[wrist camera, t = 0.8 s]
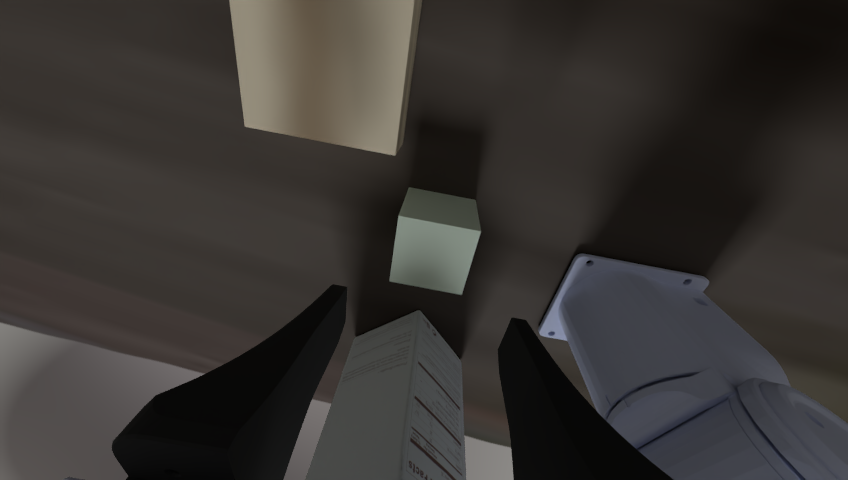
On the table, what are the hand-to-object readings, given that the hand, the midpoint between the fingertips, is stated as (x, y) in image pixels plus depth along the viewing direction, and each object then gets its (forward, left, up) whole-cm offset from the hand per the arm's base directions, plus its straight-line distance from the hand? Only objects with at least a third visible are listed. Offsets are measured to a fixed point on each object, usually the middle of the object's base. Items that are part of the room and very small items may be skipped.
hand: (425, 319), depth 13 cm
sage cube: (0, 0, -9) cm, 9 cm away
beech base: (+7, -9, -9) cm, 15 cm away
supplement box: (0, +13, -10) cm, 16 cm away
